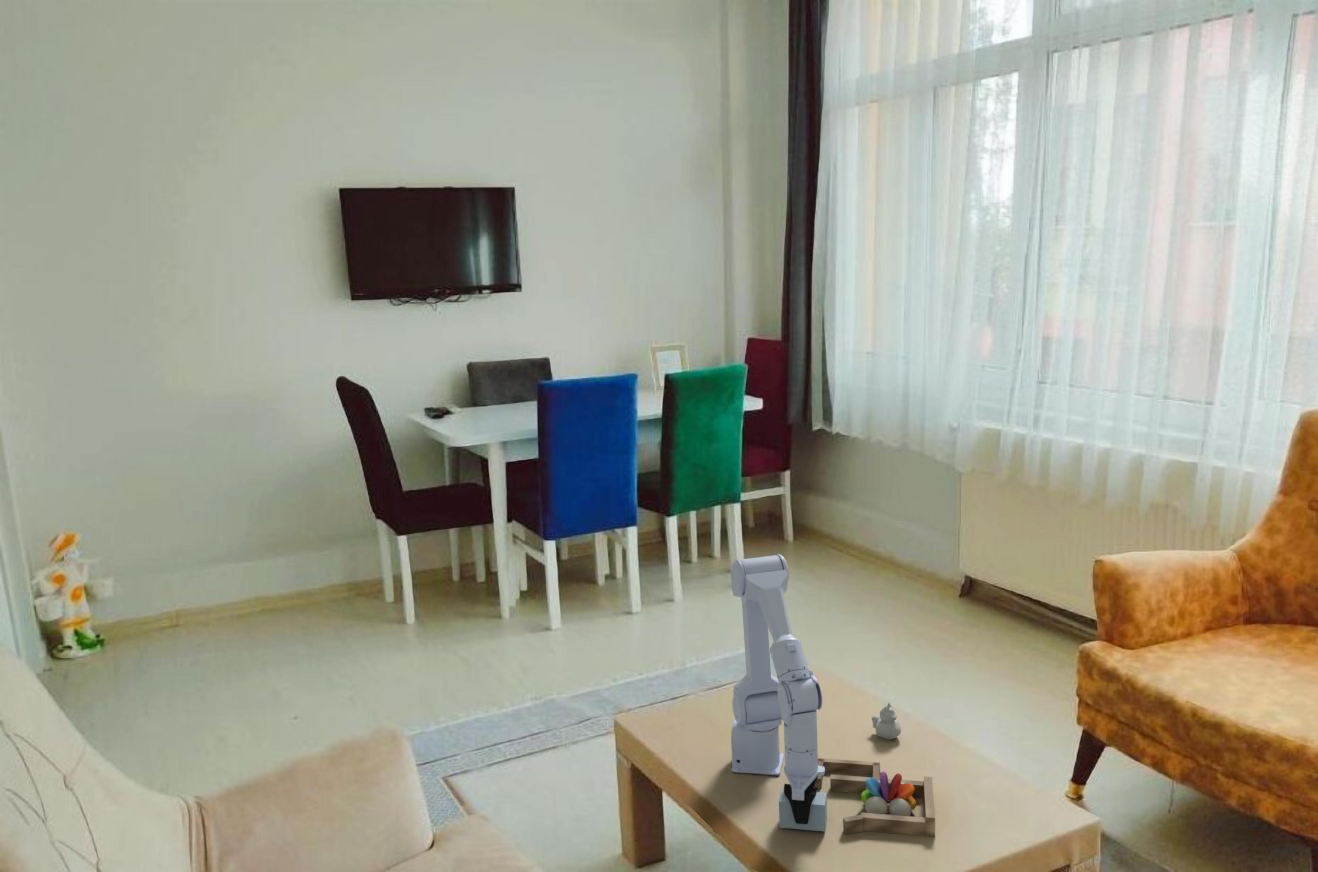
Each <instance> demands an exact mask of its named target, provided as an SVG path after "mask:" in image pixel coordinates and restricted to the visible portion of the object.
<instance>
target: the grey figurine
mask: <svg viewBox="0 0 1318 872" xmlns="http://www.w3.org/2000/svg"><path fill="white" fill-rule="evenodd" d="M897 718H898V714H897V713H896V710H894V707H892V705H891V703H890V702H888V703H887V705H885V706H884V707H882V708H881V710H880V711H879V715H877V714H874V715H872V716H871V721H872V728H873V729H875V733H876V735H877V736H878V737H880V738H882V739H885V740H894V739H897V737H899V735H900V734H901V733H902V729H901V728H902V727H901V725H900V722H899V720H898V719H897Z"/></svg>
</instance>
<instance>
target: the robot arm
mask: <svg viewBox="0 0 1318 872" xmlns="http://www.w3.org/2000/svg"><path fill="white" fill-rule="evenodd" d="M789 571H790V570H789V565H788V562H787V560H786V558H785V557H784V556H783V555H781V554H779V553H777V554H775V555H766V556H759V557H751V558H742V559H739V558H737V559H734V561H733V563H732V564H731V567H730V578H731V579H730V581H731V590H732V595H733V596H734V597H738V598H740V600H741V608H742V609H741V610H742V623H743V624H742V625H743V626H742V627H743V640H744V656H745V669H746V670H745V671H746V672H745V673H746V674H745V675H744V676H743V677H742V678H741V679H740V680H738V681H736V683H735V684H734V685H733V690H732V691H733V692H732V693H733V696H732V697H733V698H732V712H733V716H734V720H733V722H732V725H731V730H730V731H731V736H730V737H731V738H730V743H731V744H730V745H731V746H730V747H731V767H732V768H731V771H732V772H733V773H739V774H740V773H742V774H753V775H755V774H756V775H766V776H769V775H770V776H780V775H781V771H782V767H783V773H784V774H785V776H786V779H787V781H788V783H784V785H783V789H784V794H785V796H786V797H787V799H788V801H789V803H790V805H791V808H792V812H793V816H794V819H795V822H796V824H808V820H809V815H810V808H811V804H812V801H813V800H814V798H815V796H816V793H817V792H818V788H815V782H816V780H817V778H818V776H819V775H821V776H822V775H823V776H824V775H825V772H826V771H825V767H823V766H819V765H818V758H819V755H818V754H819V753H818V752H819V751H818V748H819V747H818V712H817V711H818V710H821V709H822V707H823V695H822V689H821V685H820V683H819V681H818V678H817V677H816V676H815V674H814V671H813V670H810V669H809V665H808V662H807V659H806V655H805V652H804V649H803V646H802V642H801V640H800V639H799V638H796V637H795V636H793V633H792V628H791V623H790V618H789V614H788V608H787V604H786V599H785V594H786V592H787V589H788V586H789V585H788V583H789V579H790V578H789V577H790V573H789ZM769 633H770V635H771V638H772V640H773V641H772V643H771V645H770V638H769V637H770V635H769ZM771 659H772V663H773V667H774V670H775V674H776V677H775V676H774V675H773V674H772V671H771V670H772V669H771V668H772V667H771ZM782 721H783V722H782ZM782 723H783V724H782ZM781 725H783V735H784V737H783V739H784V740H783V741H784V752H780V748H781V747H780V727H779V726H781ZM783 761H784V766H783Z"/></svg>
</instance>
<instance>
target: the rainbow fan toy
mask: <svg viewBox="0 0 1318 872" xmlns="http://www.w3.org/2000/svg"><path fill="white" fill-rule="evenodd" d="M902 777H903V776H902V774H900V773H896V774H895V775H894V776H893V778H891V779H892V781H891V783H890V785H889V783H888V779H889V778H888V775H887V772H886V771H880V781H877V780H876V779H874V778H873V777H870V778H868V779H867V780H866V785H867V787H866V790H865V791H863V792H862V793H860V794H861V795H860V800H861V802H862V803H863V804H864V808H865V811H866V813H874V814H886V815H888V814H889V815H898V816H911V815H912V811H913V810H915V808H916V807H917V801H916V799H915V797H912V794H913V792H914V790H915V788H914V786H913V785H912V784H910V783H901V780H903V778H902ZM887 802H889V803H887Z"/></svg>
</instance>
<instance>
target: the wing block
mask: <svg viewBox="0 0 1318 872" xmlns="http://www.w3.org/2000/svg"><path fill="white" fill-rule="evenodd" d="M827 800H828V798H827V792H821V791H817V793H816V796H815V798H814V800H813V801H812V804H811V808H810V815H809V820H808V824H796V822H795V819H794V816H793V812H792V808H791V805H790V803H789V801H788V799H787V797H786V796H785V794H784V788H783V789H782V788H781V790H780V793H779V799H778V821H779V822H778V823H779V824H778V825H779V828H784V829H795V830H804V831H816V832H826V830H827V821H828V805H827V804H828V803H827Z"/></svg>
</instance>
